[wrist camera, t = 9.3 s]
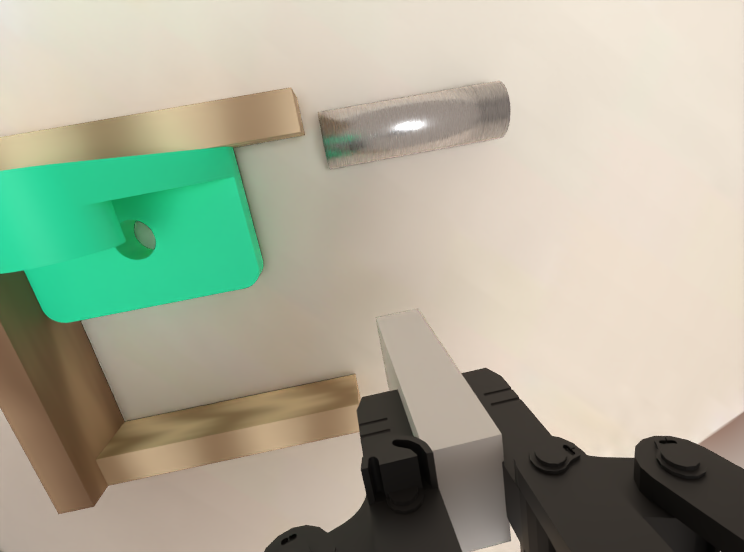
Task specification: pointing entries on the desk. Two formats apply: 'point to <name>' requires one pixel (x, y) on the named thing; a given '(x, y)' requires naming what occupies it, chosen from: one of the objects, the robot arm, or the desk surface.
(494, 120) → the shaft stub
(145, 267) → the camera mount
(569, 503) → the robot arm
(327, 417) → the u-shaped wooden frame
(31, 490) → the desk surface
